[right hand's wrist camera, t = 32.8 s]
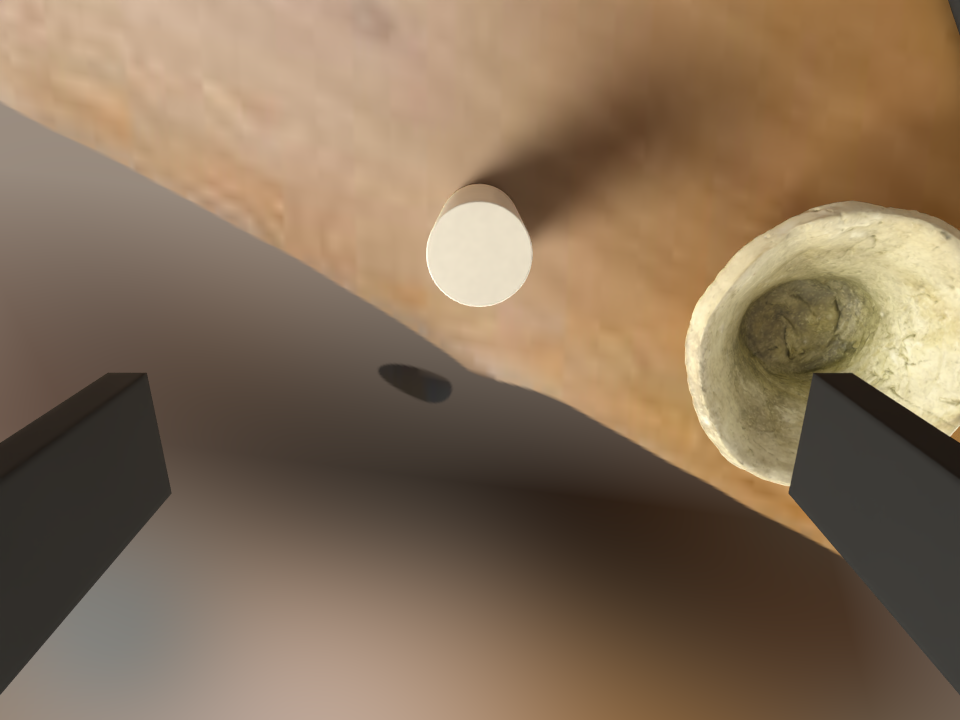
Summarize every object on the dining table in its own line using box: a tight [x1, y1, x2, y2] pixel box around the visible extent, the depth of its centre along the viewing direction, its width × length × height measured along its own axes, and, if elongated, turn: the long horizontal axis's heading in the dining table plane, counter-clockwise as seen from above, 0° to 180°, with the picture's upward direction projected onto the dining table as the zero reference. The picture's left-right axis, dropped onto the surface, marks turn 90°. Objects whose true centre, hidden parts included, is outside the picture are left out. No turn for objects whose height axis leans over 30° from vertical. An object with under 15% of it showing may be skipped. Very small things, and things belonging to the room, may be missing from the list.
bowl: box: [685, 201, 960, 486], centre depth 38 cm, size 14×18×15 cm
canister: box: [426, 184, 533, 307], centre depth 36 cm, size 5×5×11 cm
